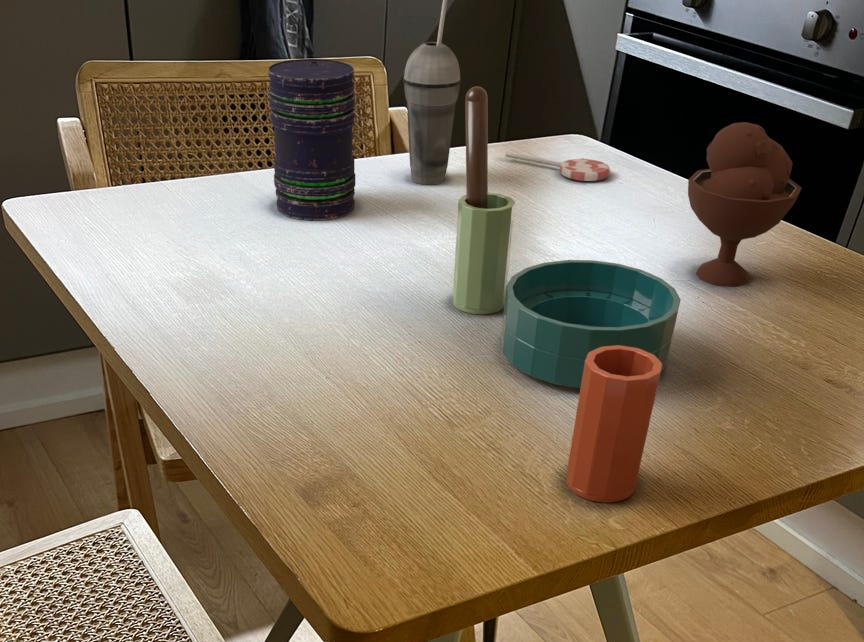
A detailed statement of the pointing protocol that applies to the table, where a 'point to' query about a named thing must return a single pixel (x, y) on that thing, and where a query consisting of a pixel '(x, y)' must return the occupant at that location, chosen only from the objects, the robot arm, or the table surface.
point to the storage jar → (313, 137)
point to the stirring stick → (477, 147)
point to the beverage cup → (431, 107)
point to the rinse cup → (482, 254)
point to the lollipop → (573, 167)
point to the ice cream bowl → (740, 195)
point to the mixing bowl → (583, 316)
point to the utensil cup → (612, 422)
